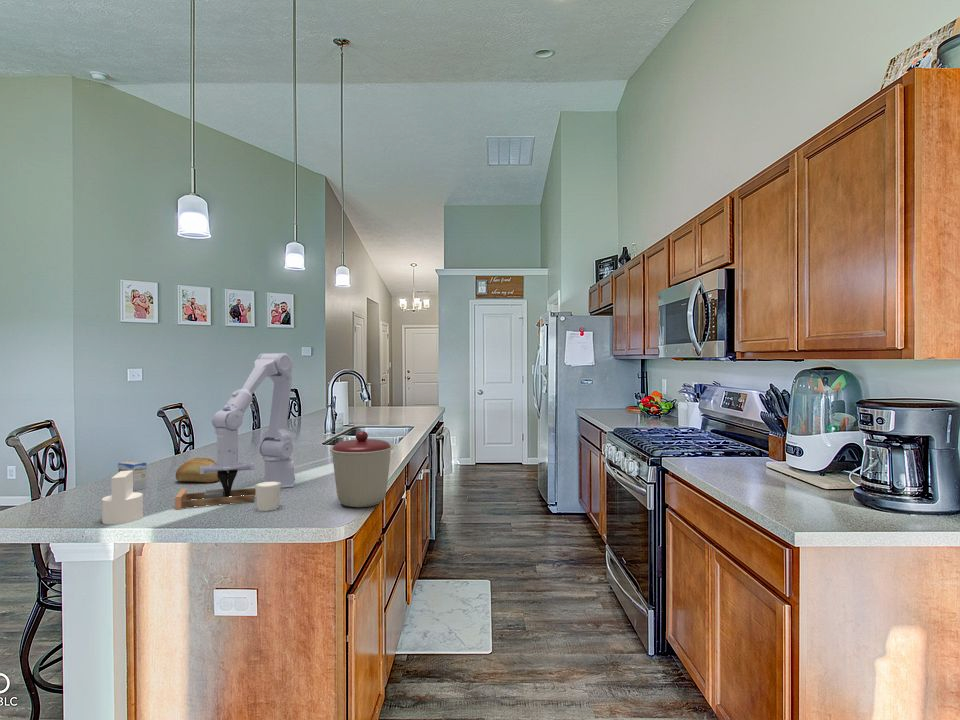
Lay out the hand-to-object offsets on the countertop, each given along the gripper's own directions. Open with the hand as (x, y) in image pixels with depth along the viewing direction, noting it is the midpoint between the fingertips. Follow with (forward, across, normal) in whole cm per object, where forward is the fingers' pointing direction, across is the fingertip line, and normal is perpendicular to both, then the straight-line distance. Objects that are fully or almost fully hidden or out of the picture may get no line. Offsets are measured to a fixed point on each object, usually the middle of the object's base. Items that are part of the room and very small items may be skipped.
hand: (227, 495), depth 161 cm
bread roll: (+2, -12, +31) cm, 33 cm away
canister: (+2, +37, -17) cm, 41 cm away
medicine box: (+2, -30, +27) cm, 41 cm away
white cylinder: (+2, +12, -13) cm, 17 cm away
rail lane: (+1, -2, 0) cm, 3 cm away
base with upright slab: (+2, -24, -10) cm, 26 cm away
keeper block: (+2, -4, 0) cm, 4 cm away
